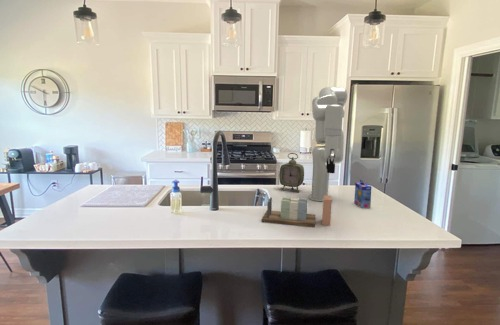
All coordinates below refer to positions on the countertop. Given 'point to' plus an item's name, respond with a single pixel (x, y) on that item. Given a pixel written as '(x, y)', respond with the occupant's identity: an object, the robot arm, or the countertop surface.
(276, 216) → the walnut shelf
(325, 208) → the terracotta rectangular block
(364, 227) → the countertop surface
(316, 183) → the robot arm
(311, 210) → the countertop surface
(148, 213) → the countertop surface
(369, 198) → the ink cartridge box
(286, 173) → the tabletop clock
